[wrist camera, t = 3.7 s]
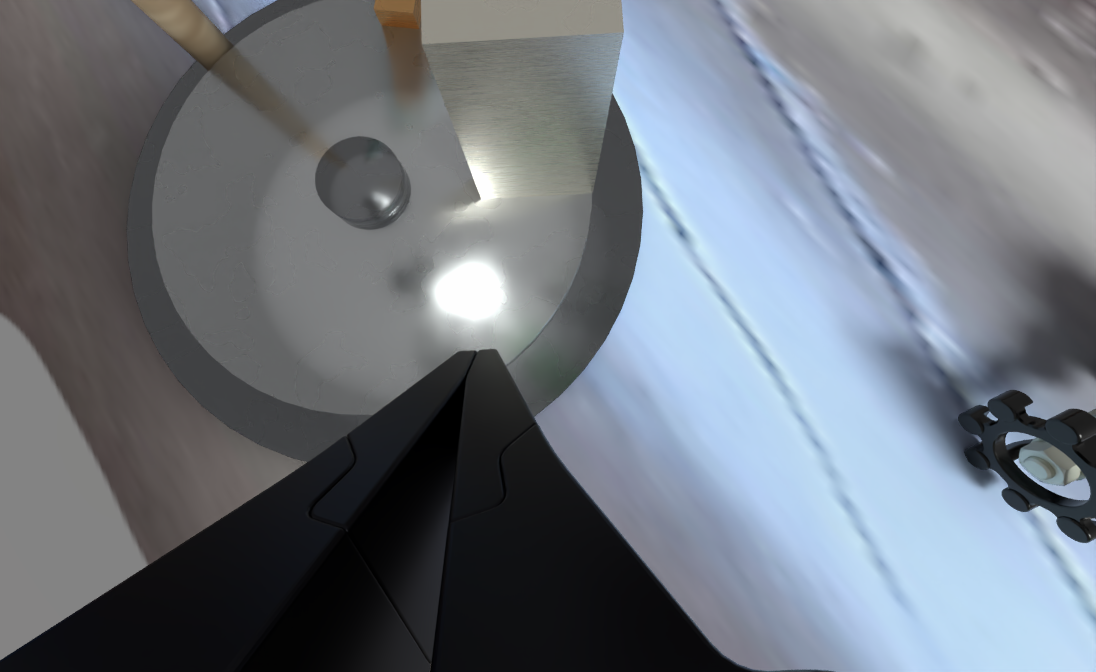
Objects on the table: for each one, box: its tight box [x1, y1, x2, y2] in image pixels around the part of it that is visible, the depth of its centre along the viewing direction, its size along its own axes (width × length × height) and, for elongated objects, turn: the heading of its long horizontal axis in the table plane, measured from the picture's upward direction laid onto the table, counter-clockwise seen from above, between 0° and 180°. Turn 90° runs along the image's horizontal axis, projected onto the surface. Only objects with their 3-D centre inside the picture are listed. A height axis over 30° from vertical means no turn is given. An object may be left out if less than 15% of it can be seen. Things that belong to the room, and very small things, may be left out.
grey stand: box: [152, 0, 624, 415], centre depth 18 cm, size 22×24×11 cm
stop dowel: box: [131, 0, 234, 71], centre depth 22 cm, size 2×2×6 cm
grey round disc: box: [127, 0, 643, 462], centre depth 24 cm, size 28×28×1 cm
